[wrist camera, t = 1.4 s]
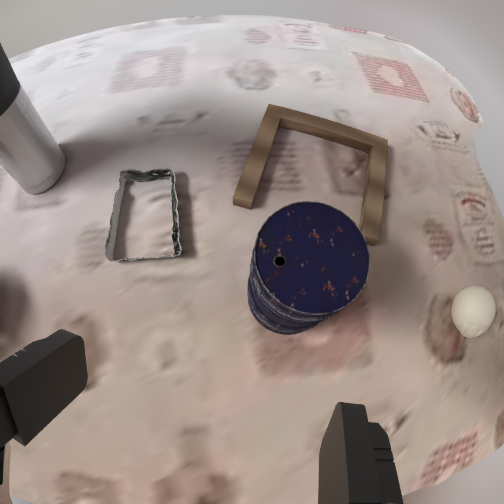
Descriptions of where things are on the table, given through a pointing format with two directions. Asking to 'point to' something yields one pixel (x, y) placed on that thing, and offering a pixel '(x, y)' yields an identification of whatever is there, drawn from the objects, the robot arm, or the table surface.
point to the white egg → (473, 311)
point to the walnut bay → (329, 131)
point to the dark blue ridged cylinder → (305, 267)
